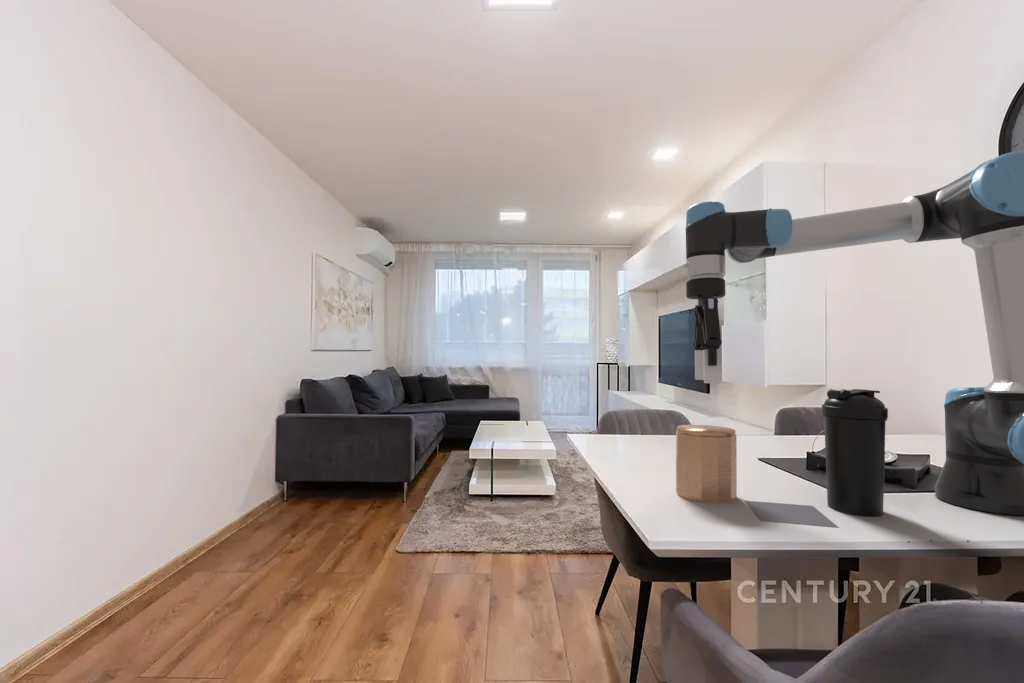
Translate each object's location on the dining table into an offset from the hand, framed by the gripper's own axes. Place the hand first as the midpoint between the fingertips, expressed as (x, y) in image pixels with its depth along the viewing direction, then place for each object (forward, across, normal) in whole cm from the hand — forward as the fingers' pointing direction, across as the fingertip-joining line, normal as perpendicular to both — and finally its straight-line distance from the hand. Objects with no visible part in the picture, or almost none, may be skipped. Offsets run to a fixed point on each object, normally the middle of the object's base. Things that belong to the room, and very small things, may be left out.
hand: (706, 381), depth 99 cm
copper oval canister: (+24, 0, 0) cm, 24 cm away
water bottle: (+24, +2, +26) cm, 35 cm away
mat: (+24, +8, +13) cm, 28 cm away
